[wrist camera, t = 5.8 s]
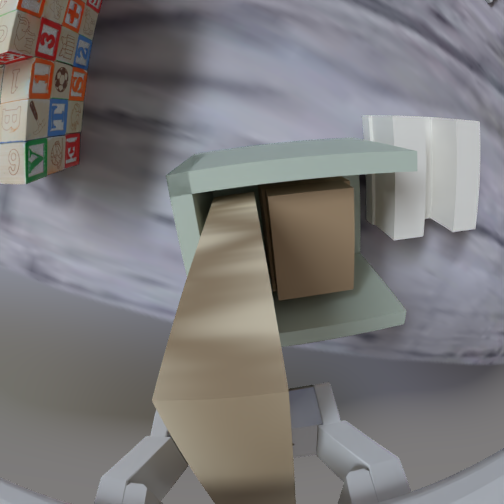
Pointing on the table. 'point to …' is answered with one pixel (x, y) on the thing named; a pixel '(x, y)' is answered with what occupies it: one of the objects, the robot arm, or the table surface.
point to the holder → (425, 175)
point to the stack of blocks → (42, 84)
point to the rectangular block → (229, 366)
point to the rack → (300, 228)
